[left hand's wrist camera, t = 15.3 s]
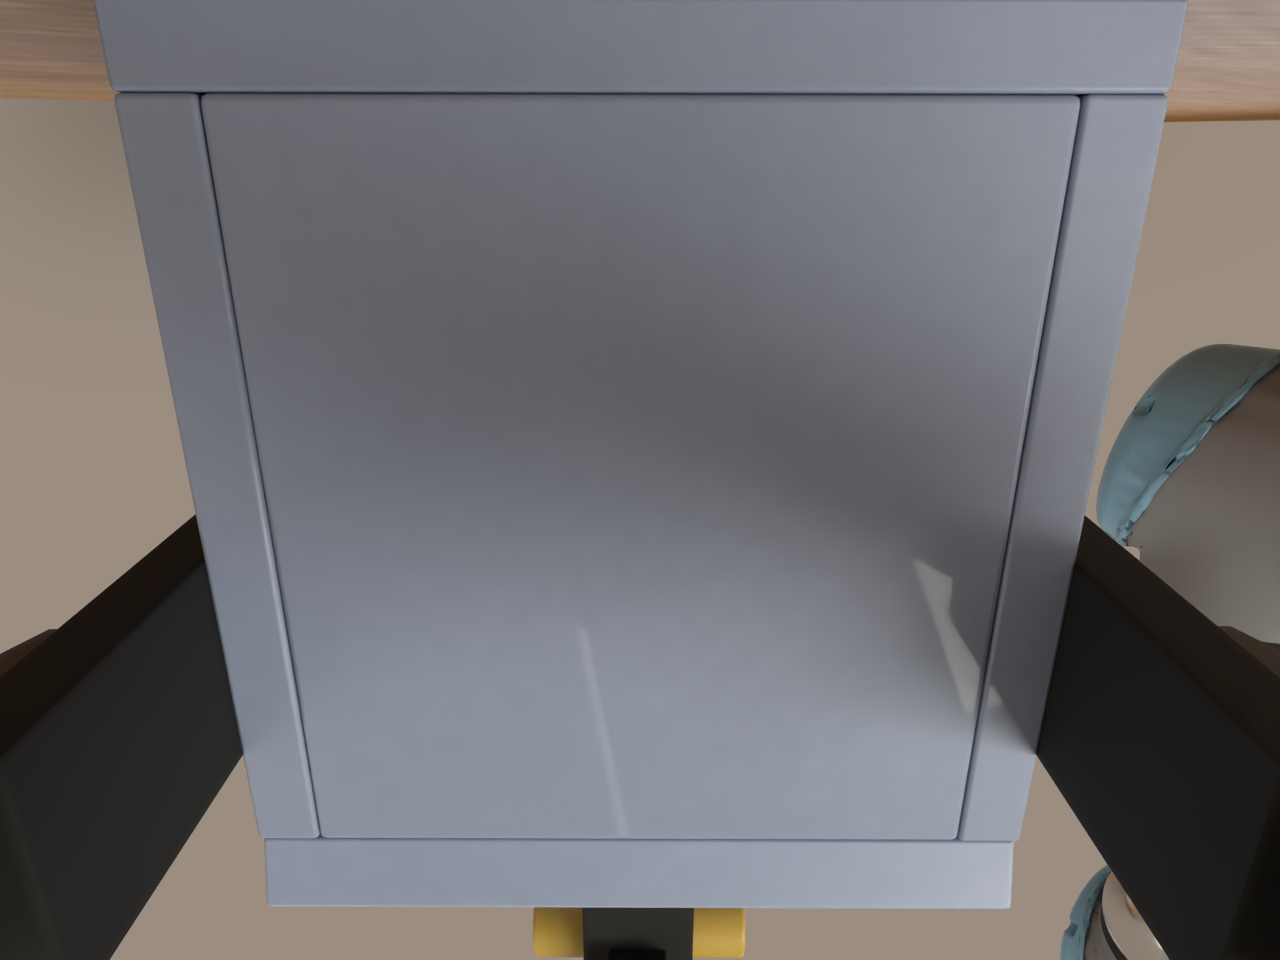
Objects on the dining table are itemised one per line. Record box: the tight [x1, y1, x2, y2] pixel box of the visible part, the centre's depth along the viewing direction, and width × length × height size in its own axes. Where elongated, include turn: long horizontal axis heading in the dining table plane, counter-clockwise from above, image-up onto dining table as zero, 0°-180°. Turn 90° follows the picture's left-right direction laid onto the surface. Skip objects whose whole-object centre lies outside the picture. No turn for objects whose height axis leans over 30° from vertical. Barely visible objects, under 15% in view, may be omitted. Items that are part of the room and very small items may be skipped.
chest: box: [94, 0, 1188, 841], centre depth 16 cm, size 13×10×10 cm
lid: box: [264, 832, 1014, 958], centre depth 19 cm, size 14×10×9 cm
